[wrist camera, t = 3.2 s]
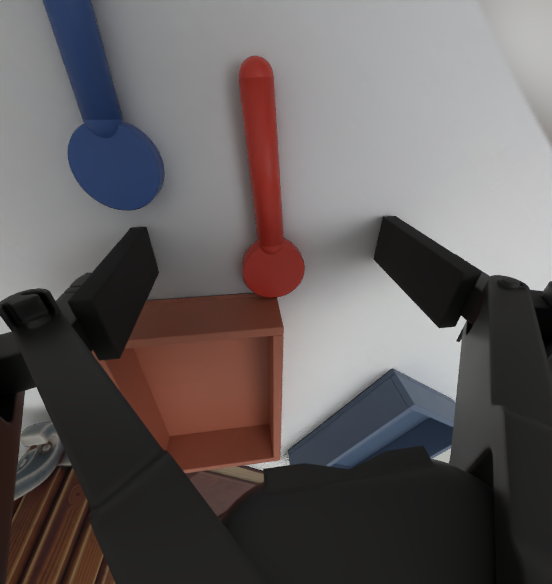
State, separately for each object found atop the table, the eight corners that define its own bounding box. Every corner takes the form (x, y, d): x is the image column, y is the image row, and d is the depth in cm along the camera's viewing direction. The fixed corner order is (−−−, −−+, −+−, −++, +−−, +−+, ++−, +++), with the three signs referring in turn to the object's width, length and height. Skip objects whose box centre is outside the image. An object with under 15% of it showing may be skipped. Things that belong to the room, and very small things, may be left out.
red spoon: (208, 62, 11) (205, 56, 10) (296, 55, 11) (304, 48, 10) (246, 292, 17) (247, 305, 16) (301, 285, 17) (306, 297, 16)
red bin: (108, 302, 16) (82, 344, 13) (275, 291, 17) (283, 327, 15) (165, 435, 25) (156, 477, 22) (275, 421, 26) (280, 460, 23)
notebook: (107, 523, 34) (100, 544, 32) (200, 453, 27) (197, 475, 26) (206, 535, 41) (205, 552, 39) (299, 481, 34) (302, 500, 33)
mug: (169, 470, 29) (121, 743, 16) (66, 487, 28) (-67, 787, 16) (107, 375, 20) (-104, 819, 7) (-47, 398, 19) (-563, 928, 7)
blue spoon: (-69, -240, 7) (-130, -310, 6) (82, -221, 7) (53, -282, 6) (96, 205, 13) (83, 215, 12) (171, 203, 14) (166, 212, 12)
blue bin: (392, 368, 24) (414, 404, 21) (453, 399, 28) (478, 432, 25) (287, 450, 30) (293, 487, 27) (350, 466, 34) (361, 499, 31)
